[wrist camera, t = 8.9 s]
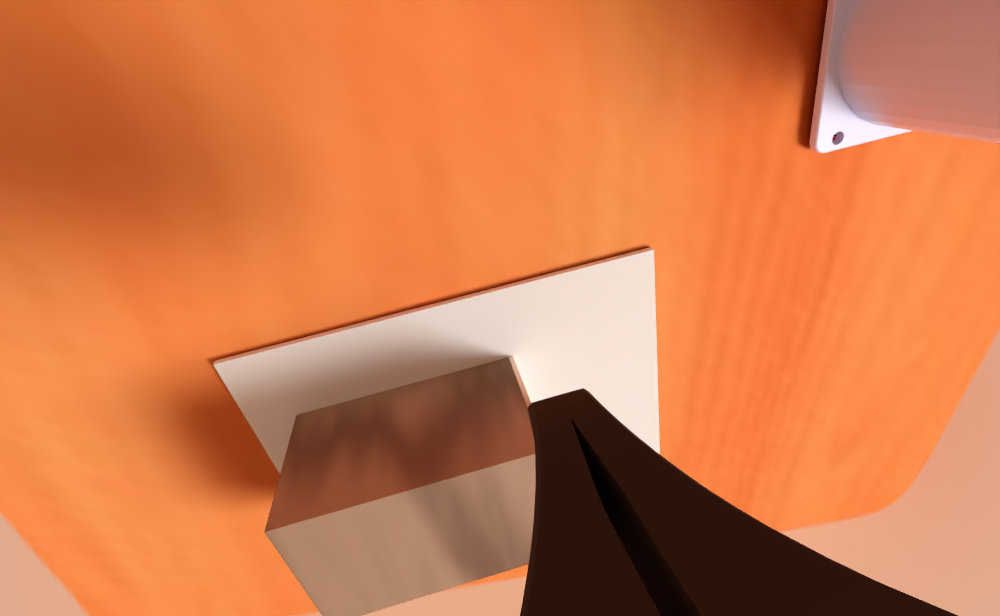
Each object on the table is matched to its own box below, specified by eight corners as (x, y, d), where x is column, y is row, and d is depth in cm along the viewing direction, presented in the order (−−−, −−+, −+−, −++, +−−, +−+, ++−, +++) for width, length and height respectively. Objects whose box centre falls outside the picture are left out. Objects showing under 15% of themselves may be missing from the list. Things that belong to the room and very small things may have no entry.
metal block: (549, 449, 17) (264, 532, 16) (568, 551, 20) (329, 625, 19) (512, 356, 22) (296, 414, 21) (532, 448, 25) (343, 502, 24)
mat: (650, 247, 21) (653, 249, 21) (657, 453, 28) (659, 457, 27) (215, 360, 20) (212, 364, 19) (329, 550, 26) (328, 555, 26)
